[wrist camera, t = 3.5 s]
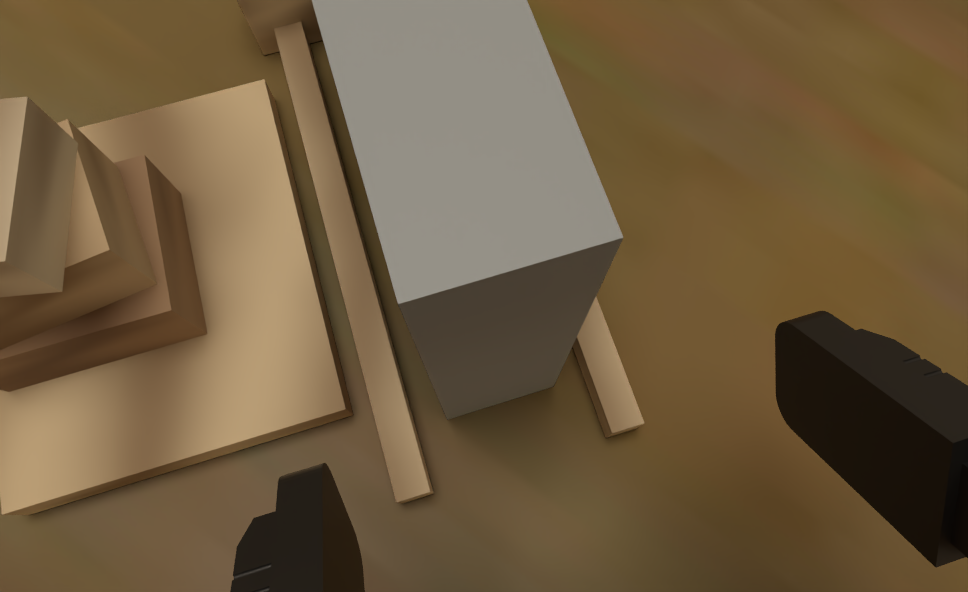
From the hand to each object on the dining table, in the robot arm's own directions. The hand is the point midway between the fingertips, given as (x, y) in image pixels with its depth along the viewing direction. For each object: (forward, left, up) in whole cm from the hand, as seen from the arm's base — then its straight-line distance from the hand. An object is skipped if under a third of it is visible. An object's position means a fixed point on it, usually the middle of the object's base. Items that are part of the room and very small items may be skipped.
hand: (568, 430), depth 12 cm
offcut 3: (-11, +9, -8) cm, 17 cm away
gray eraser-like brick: (0, +9, -10) cm, 13 cm away
